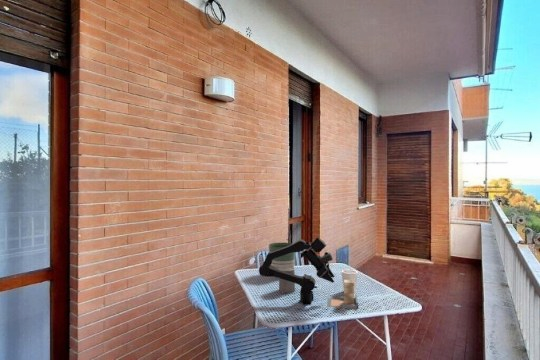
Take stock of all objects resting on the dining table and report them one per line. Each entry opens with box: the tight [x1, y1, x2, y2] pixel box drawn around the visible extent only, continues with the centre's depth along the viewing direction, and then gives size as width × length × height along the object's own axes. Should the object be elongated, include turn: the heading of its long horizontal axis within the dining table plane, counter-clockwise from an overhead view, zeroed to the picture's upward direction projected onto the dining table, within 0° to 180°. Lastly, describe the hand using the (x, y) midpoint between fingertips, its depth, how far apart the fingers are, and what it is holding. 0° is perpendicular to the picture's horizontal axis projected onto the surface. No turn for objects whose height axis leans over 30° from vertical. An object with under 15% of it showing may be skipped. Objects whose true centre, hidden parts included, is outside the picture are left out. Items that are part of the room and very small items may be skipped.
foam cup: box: [341, 269, 359, 294], centre depth 191 cm, size 10×9×13 cm
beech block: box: [343, 280, 355, 305], centre depth 172 cm, size 5×5×12 cm
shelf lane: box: [326, 294, 359, 309], centre depth 173 cm, size 16×12×4 cm
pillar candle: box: [278, 267, 296, 294], centre depth 197 cm, size 10×10×15 cm
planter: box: [268, 242, 296, 270], centre depth 232 cm, size 20×20×21 cm
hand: (333, 279), depth 174 cm, fingers open, 9 cm apart
